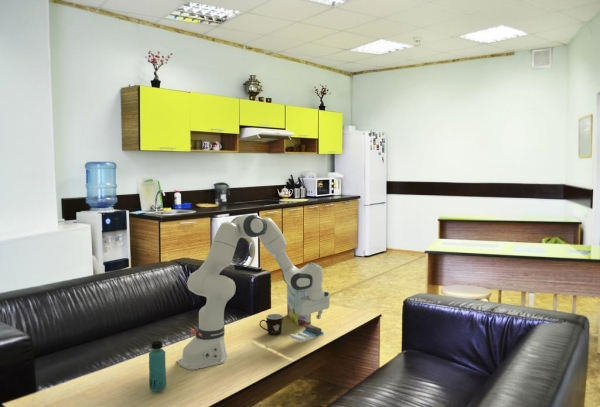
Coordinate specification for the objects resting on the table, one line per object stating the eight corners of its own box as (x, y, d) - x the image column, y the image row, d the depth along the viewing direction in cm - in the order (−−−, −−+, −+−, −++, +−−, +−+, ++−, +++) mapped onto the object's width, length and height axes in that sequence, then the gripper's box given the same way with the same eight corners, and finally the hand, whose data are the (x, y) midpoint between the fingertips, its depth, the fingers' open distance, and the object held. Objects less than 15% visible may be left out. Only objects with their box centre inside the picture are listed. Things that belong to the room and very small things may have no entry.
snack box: (285, 314, 277) (286, 271, 274) (299, 313, 279) (300, 271, 277) (296, 327, 256) (297, 281, 254) (311, 325, 259) (312, 280, 256)
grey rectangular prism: (317, 335, 241) (317, 330, 240) (305, 331, 247) (305, 325, 247) (321, 334, 243) (321, 328, 242) (309, 329, 249) (309, 324, 249)
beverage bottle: (168, 387, 187) (167, 338, 186) (164, 395, 181) (163, 345, 179) (151, 387, 187) (150, 338, 185) (146, 395, 181) (145, 345, 179)
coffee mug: (283, 332, 248) (283, 314, 247) (281, 338, 239) (281, 319, 238) (262, 331, 249) (262, 313, 248) (259, 337, 241) (259, 318, 240)
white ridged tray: (300, 344, 232) (300, 340, 232) (287, 338, 240) (287, 334, 239) (326, 335, 244) (326, 331, 244) (312, 330, 252) (312, 326, 252)
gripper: (303, 299, 234) (302, 326, 235) (331, 291, 247) (331, 317, 249) (294, 296, 238) (294, 323, 240) (323, 289, 252) (322, 314, 253)
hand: (313, 320), depth 244 cm, fingers open, 6 cm apart
